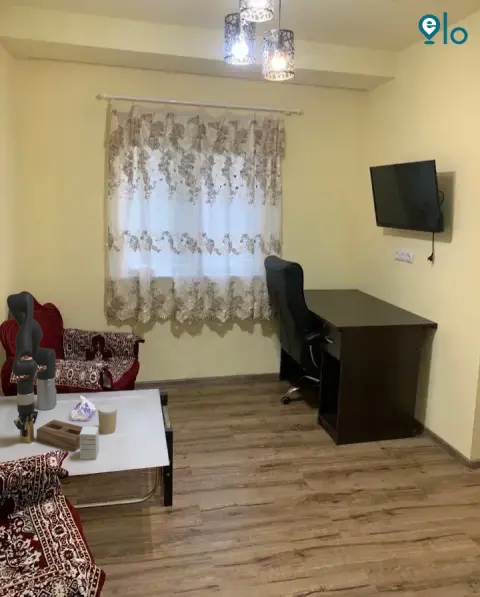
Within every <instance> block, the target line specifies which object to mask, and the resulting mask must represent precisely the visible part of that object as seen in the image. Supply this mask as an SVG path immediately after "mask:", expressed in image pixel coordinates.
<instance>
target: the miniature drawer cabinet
mask: <svg viewBox="0 0 480 597" xmlns="http://www.w3.org/2000/svg"><path fill="white" fill-rule="evenodd" d="M82 427H83V428H82V430H81V432H80V448H79V460H90V461H91V460H97V458H98V455H99V452H100V451H99V450H100V447H99V446H100V444H99V443H100V439H99V438H100V436H99V433H100V430H99V426H82Z"/></svg>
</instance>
